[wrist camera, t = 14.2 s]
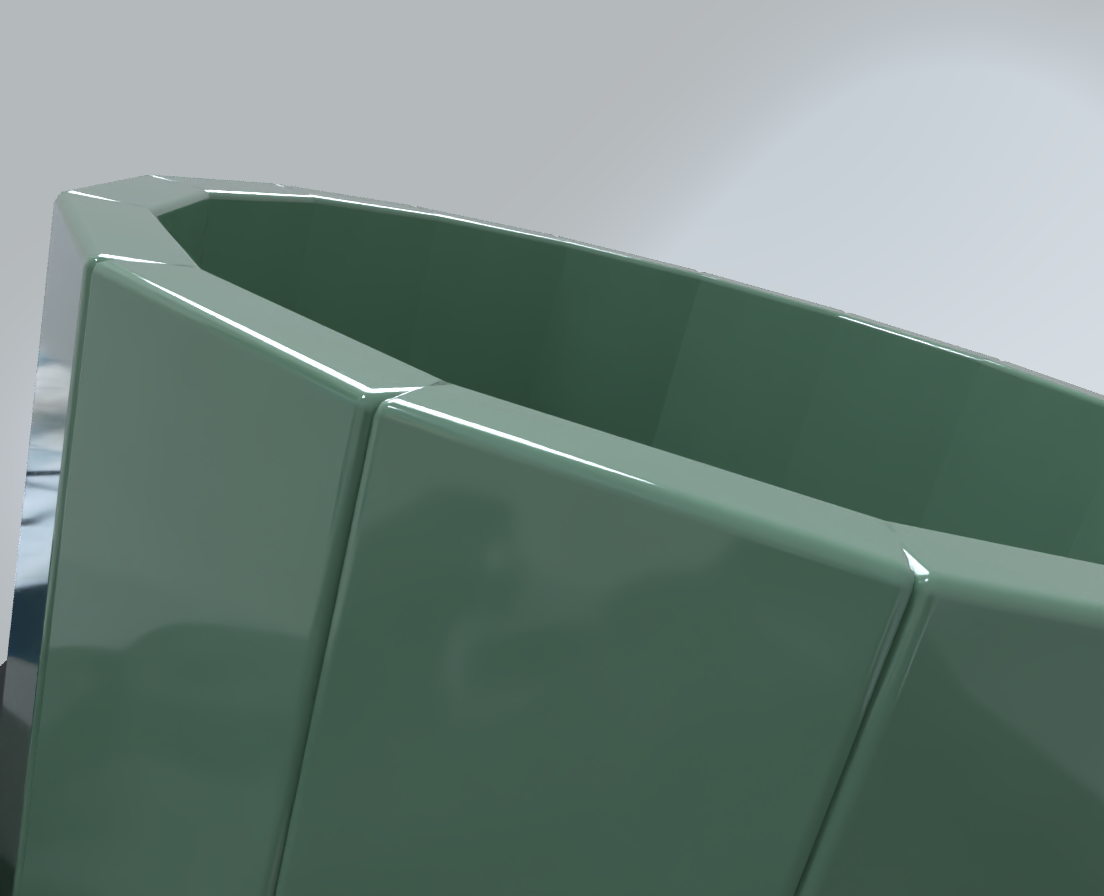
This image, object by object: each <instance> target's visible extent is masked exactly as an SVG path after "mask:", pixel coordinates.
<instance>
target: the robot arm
mask: <svg viewBox="0 0 1104 896" xmlns="http://www.w3.org/2000/svg"><path fill="white" fill-rule="evenodd" d="M6 666H7V661H5V662H4V663H3V664H2V665H1V666H0V724H1V714H2V705H3V695H4V685H5V676H6Z"/></svg>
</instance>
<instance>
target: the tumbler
mask: <svg viewBox="0 0 1104 896" xmlns="http://www.w3.org/2000/svg"><path fill="white" fill-rule="evenodd" d="M0 896H1104V396H1103V395H1101V394H1098V393H1095V392H1092V391H1089V390H1086V389H1084V388H1081V387H1078V386H1075V385H1072V384H1069V383H1066V382H1063V381H1061V380H1058V379H1055V378H1052V377H1049V376H1046V375H1043V374H1040V373H1038V372H1034V371H1032V370H1029V369H1026V368H1023V367H1020V366H1017V365H1015V364H1012V363H1009V362H1005V361H1000V360H999V359H997V358H994V357H990V356H987V355H984V354H981V353H978V352H974V351H971V350H968V349H965V348H961V347H958V346H955V345H951V344H949V343H945V342H942V341H939V340H936V339H932V338H929V337H926V336H923V335H919V334H916V333H913V332H910V331H907V330H903V329H900V328H897V327H894V326H890V325H887V324H884V323H881V322H878V321H874V320H871V319H868V318H865V317H861V316H858V315H855V314H852V313H845V312H844V311H842V310H838V309H835V308H831V307H827V306H824V305H819V304H817V303H813V302H809V301H806V300H802V299H798V298H795V297H791V296H788V295H784V294H781V293H777V292H773V291H770V290H766V289H762V288H759V287H755V286H752V285H748V284H744V283H741V282H737V281H734V280H730V279H727V278H723V277H719V276H716V275H712V274H708V273H705V272H698V271H696V270H694V269H690V268H685V267H681V266H677V265H673V264H669V263H665V262H661V261H657V260H653V259H649V258H645V257H641V256H637V255H633V254H629V253H625V252H621V251H616V250H612V249H608V248H604V247H600V246H596V245H592V244H588V243H584V242H580V241H575V240H572V239H568V238H564V237H556V236H553V235H551V234H546V233H541V232H536V231H531V230H527V229H522V228H517V227H513V226H508V225H503V224H498V223H493V222H489V221H484V220H479V219H474V218H469V217H464V216H460V215H455V214H450V213H446V212H441V211H436V210H431V209H426V208H422V207H414V206H411V205H405V204H399V203H393V202H387V201H380V200H374V199H367V198H361V197H355V196H349V195H343V194H337V193H330V192H324V191H317V190H311V189H305V188H299V187H293V186H286V185H275V184H272V183H257V182H244V181H230V180H229V181H228V180H216V179H202V178H188V177H174V176H160V175H152V176H149V175H146V176H140V177H135V178H129V179H124V180H119V181H115V182H109V183H104V184H99V185H94V186H89V187H84V188H79V189H75V190H69V191H64V192H62V193H61V194H60V195H58V197H57V199H56V200H55V202H54V210H53V219H52V229H51V239H50V248H49V258H48V267H47V277H46V287H45V296H44V306H43V316H42V325H41V335H40V345H39V355H38V364H37V375H36V384H35V394H34V403H33V413H32V423H31V433H30V442H29V452H28V462H27V471H26V481H25V491H24V501H23V510H22V521H21V531H20V539H19V549H18V559H17V569H16V578H15V589H14V598H13V608H12V618H11V628H10V637H9V647H8V657H7V666H6V676H5V685H4V695H3V705H2V714H1V724H0Z"/></svg>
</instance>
